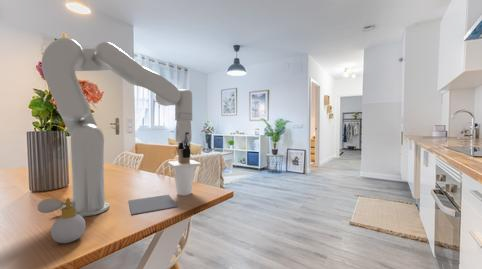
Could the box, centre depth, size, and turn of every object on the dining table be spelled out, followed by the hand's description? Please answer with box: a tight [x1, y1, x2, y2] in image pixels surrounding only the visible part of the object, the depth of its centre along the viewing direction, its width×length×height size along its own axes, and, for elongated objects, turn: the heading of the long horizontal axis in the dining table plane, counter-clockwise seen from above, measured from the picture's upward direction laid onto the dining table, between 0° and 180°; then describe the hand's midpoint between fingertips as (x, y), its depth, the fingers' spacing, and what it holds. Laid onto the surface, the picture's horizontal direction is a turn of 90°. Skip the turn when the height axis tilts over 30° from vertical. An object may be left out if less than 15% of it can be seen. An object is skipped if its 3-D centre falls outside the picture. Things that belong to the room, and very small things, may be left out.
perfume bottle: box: [37, 197, 86, 244], centre depth 60 cm, size 8×10×12 cm
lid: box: [167, 148, 202, 170], centre depth 103 cm, size 12×12×7 cm
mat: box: [128, 194, 179, 216], centre depth 89 cm, size 16×16×1 cm
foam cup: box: [173, 167, 196, 196], centre depth 103 cm, size 10×9×13 cm
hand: (184, 156), depth 103 cm, fingers open, 7 cm apart
